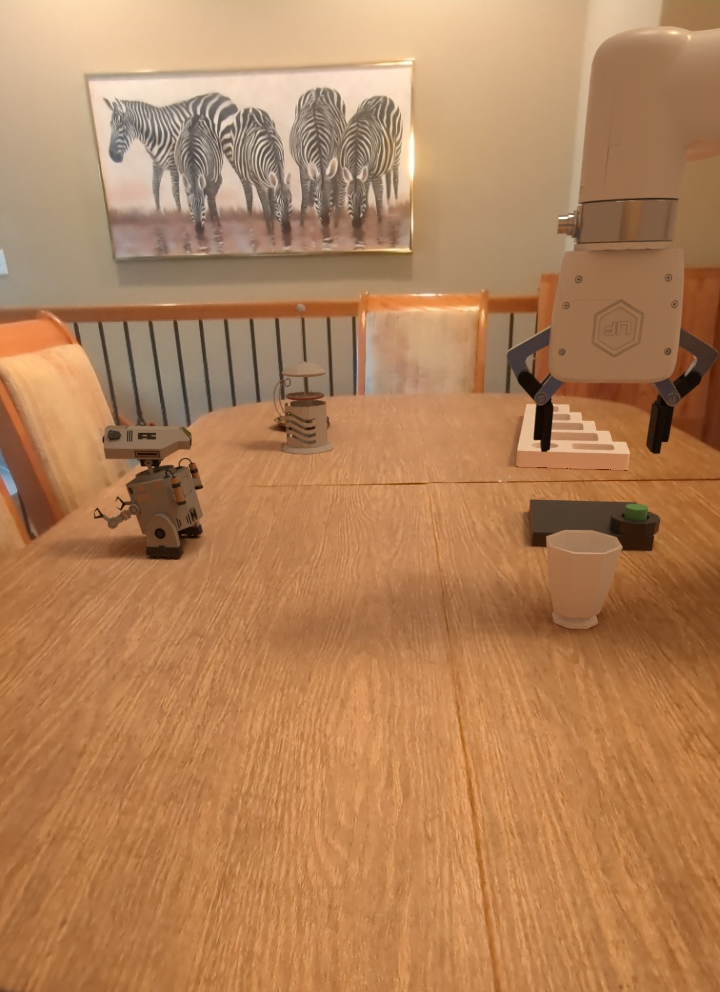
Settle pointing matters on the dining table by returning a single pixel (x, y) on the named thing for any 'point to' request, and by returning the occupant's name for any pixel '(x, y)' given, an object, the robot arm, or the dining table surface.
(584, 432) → the holder
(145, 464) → the figurine
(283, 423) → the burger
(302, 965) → the dining table surface
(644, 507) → the scale button
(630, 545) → the scale
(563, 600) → the cup
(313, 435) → the french press
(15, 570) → the dining table surface
